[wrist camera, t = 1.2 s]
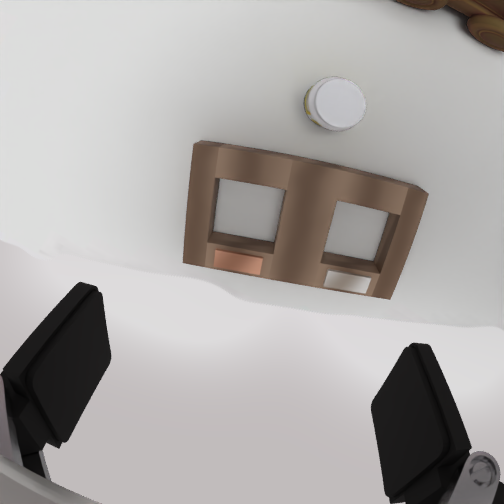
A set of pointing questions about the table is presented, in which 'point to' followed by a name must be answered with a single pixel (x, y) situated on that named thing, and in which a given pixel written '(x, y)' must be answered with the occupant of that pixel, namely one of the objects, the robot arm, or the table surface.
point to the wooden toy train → (473, 17)
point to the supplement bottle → (335, 103)
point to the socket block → (299, 220)
